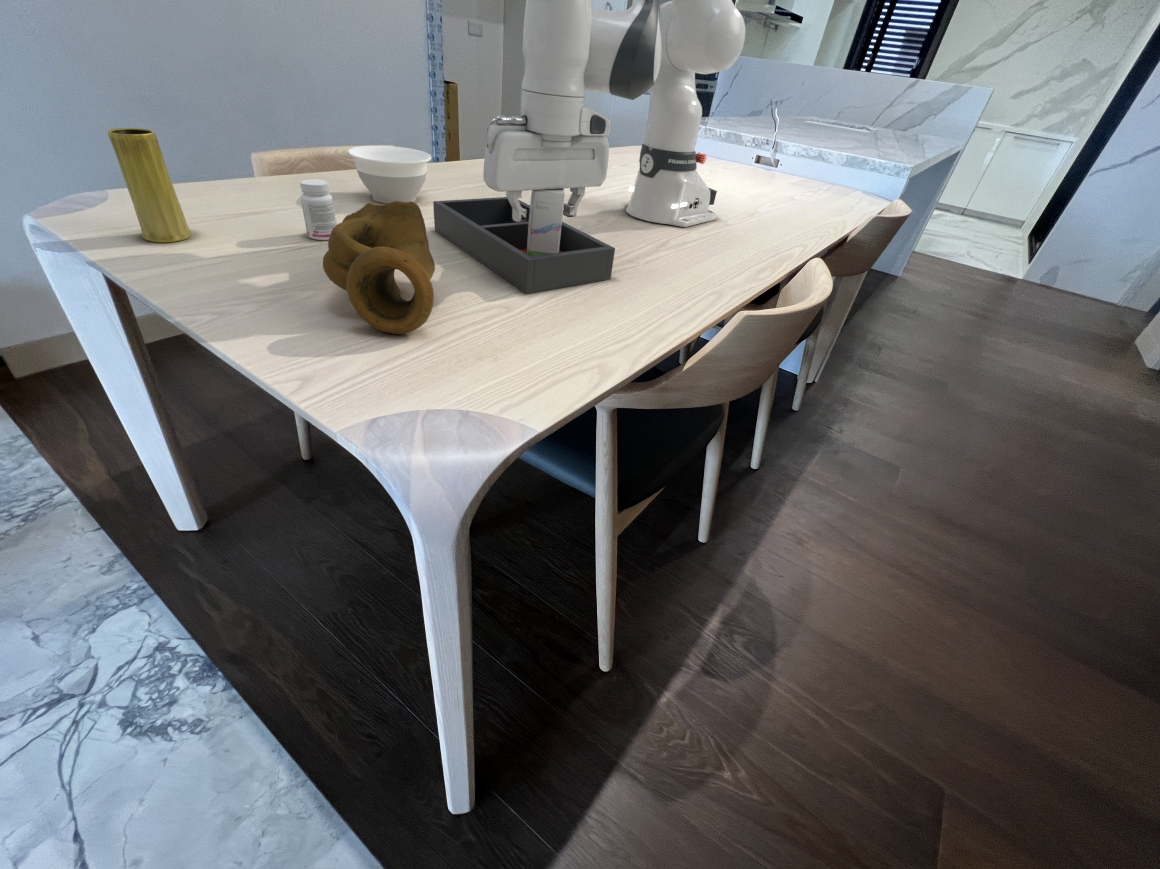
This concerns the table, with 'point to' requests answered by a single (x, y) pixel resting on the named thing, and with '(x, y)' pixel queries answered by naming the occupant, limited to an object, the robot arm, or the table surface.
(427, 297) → the brown looped sculpture
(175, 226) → the vase
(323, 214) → the pill bottle
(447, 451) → the table surface
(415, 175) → the bowl
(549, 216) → the ink box
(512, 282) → the organiser
